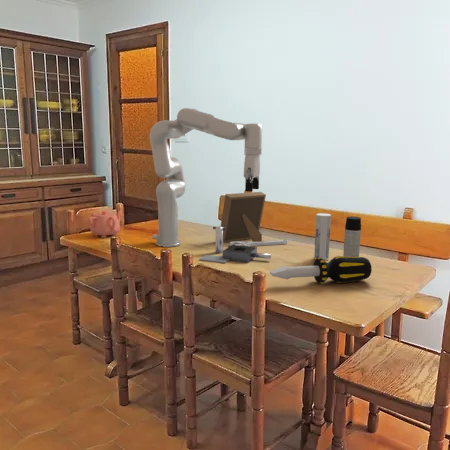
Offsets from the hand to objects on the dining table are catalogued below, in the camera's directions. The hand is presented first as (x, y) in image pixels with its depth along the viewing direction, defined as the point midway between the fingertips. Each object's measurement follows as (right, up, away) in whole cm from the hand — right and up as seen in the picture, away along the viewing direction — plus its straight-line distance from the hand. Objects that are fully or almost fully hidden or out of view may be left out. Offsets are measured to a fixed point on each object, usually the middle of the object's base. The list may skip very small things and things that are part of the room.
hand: (252, 190), depth 211 cm
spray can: (+42, -32, -8) cm, 54 cm away
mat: (-16, -31, -5) cm, 35 cm away
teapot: (-76, -21, +40) cm, 88 cm away
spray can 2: (+31, -31, -2) cm, 44 cm away
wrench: (+6, -25, +18) cm, 32 cm away
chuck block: (-2, -31, -3) cm, 31 cm away
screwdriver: (+24, -38, -36) cm, 57 cm away
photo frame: (-2, -25, +28) cm, 37 cm away
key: (-15, -29, +7) cm, 33 cm away
